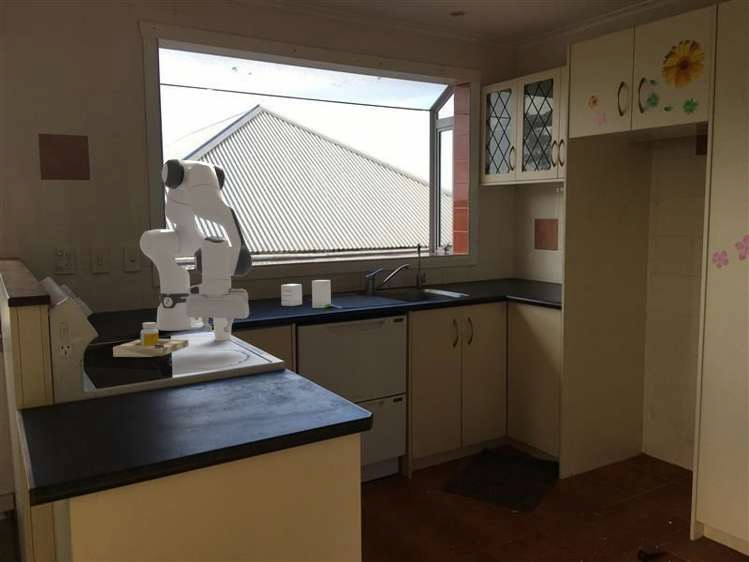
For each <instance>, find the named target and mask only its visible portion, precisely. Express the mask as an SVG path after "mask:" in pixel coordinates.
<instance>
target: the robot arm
mask: <svg viewBox="0 0 749 562" xmlns="http://www.w3.org/2000/svg"><path fill="white" fill-rule="evenodd" d="M161 169H162V170H161V179H162V183H163V185H164V186H165V187H166V188H168V191H167V195H166V196H167V197H166V202H165V209H164V215H165V218H166V219H167V220H168V221H170V222H171V223H173V224H174V225H175V228H157V229H151V230H145V231H144V232H143V233H142V235H141V237H140V240H139V248H140V250H141V252H142V253H143V254H144V255H145V256H146V257H148V258H149V260H150V261H151V262H153V263H154V265H155V267H156V269H157V271H158V276H159V277H158V278H159V284H160V285H159V286H160V289H159V290H160V292H159V297H158V299H159V303H160V304H159V306H158V307H157V314H156V327H155V329H157V330H158V331H164V332H165V331H168V332H169V331H171V332H172V331H175V332H176V331H187V330H188V331H189V330H196V329H197V330H198V329H201V328H202V327H203V326H204V327H205V329H204V330H205V331H204V332H206V333H211V332H213V325H210V323H209V320H210V319H213V318H227V322H228V324H227V326H225V327H224V332H230V331H231V332H232V326H233V323H234V320H235V319H247V318H248V317H249V315H250V306H249V293H248V291H247V290H245V289H244V288H232V277H244V276H246V275H247V274H248V273H249V272H250V271H251V270H252V268H253V258H252V254H251V252H250V249H249V247H248V245H247V243H246V241H245V237H244V233H243V232H242V229H241V225H240V223H239V220H238V217H237V214H236V212H235V210H234V208H233V206H231V205H229V204H228V203H227V202H226V201H225V199H224V198H223V197H222V194H221V191H222V190H223V188H224V186H225V181H226V176H225V170H224V168H223V167H222V166H221V165H218V164H215V163H209V162H204V161H199V160H185V159H180V160H179V159H176V158H175V159H174V158H173V159H167V161H166V162H164V164H163V166H162V168H161ZM196 217H198V218H200V219H202V220H204V221H209V222H212V223H215V224H218V225H220V226H221V227H223V228H224V229H225V230H226V232H227V237H228V238H229V240H228V239H227V238H226V237H224V236H220V235H219V236H215V235H214V236H205V234H204V233H203V232H202V231H201V230H200V229H199V227H198V226H197V222H196ZM229 241H230V244H231V246H230V245H229ZM182 257H183V258H188V257H189V258H191V257H194V266H193V267H194V269H193V270H194V271H195V272H196V273H198V275H200V276H202V278H201V283H198V284H195V285H196V286H194V285H192V286H193V287H190V286H191V281H190V280H191V279H190V276H191V275H190V273H189V271H188V270H187V269H186V268H184V267H182V266H180V265H178V263H177V261H176V258H182ZM209 318H210V319H209ZM230 326H231V328H230Z"/></svg>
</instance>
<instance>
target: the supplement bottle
mask: <svg viewBox="0 0 749 562" xmlns="http://www.w3.org/2000/svg"><path fill="white" fill-rule="evenodd" d="M156 325H157V322H155V321H154V322H153V321H151V322H150V321H149V322H148V321H147V322H142V328H143V329H141V331H140V339H141V346H155V344H159V340H158V339H159V330H158V329H157V328H155V327H156Z"/></svg>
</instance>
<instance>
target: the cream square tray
mask: <svg viewBox="0 0 749 562" xmlns="http://www.w3.org/2000/svg"><path fill="white" fill-rule="evenodd" d="M158 340H159V344H155V346H141V338H139V339H136V340H134V341H133V340H132V341H130V342H126V343H125V342H124V343H123V344H120V345H116V346H113V347H112V352H113V355H112V357H114V358H118V357H119V358H120V357H121V358H146V357H147V358H153V357H163V356H166V355H169V354H170V353H171V354H172V353H173V352H176V351H178V350H182V349H184V348H186V347H188V346H189V339H178V338H174V339H172V338H158Z"/></svg>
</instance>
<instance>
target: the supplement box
mask: <svg viewBox="0 0 749 562" xmlns="http://www.w3.org/2000/svg"><path fill="white" fill-rule="evenodd" d="M280 287H281V288H280V289H281V290H280V291H281V293H280V294H281V295H280V296H281V306H283V307H285V306H286V307H295V306H299V305H300V306H301V305H303V288H302V287H303V285H302V284H301V283H299V284H298V283H287V284H281V285H280Z"/></svg>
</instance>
